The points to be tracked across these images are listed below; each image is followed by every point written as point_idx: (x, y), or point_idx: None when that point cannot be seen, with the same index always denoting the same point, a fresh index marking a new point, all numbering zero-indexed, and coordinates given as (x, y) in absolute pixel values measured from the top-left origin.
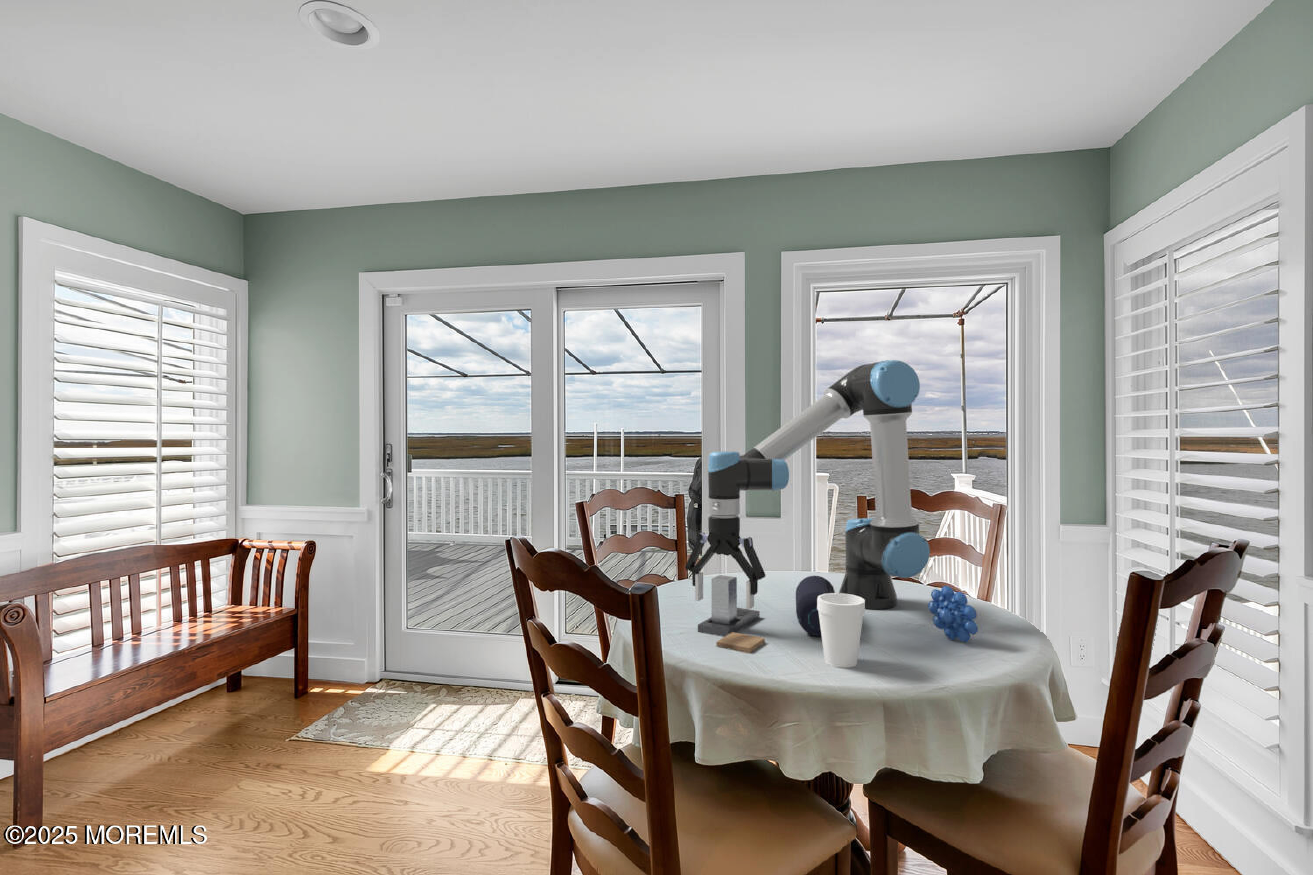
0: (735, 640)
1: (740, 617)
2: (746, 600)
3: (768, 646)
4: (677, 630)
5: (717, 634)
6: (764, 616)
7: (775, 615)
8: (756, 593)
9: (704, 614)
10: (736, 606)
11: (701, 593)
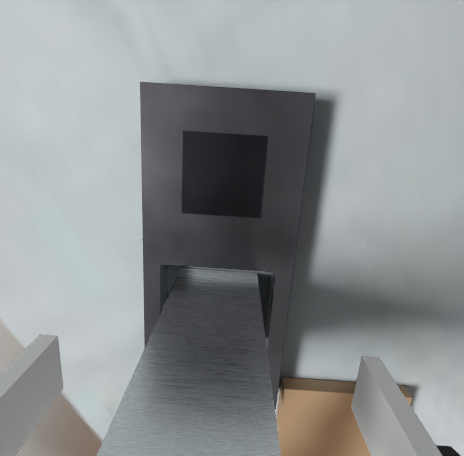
0: (323, 452)
1: (260, 244)
2: (368, 449)
3: (423, 411)
4: (87, 397)
5: None
6: (325, 64)
7: (376, 14)
8: (450, 453)
9: (57, 177)
10: (262, 321)
11: (38, 378)
